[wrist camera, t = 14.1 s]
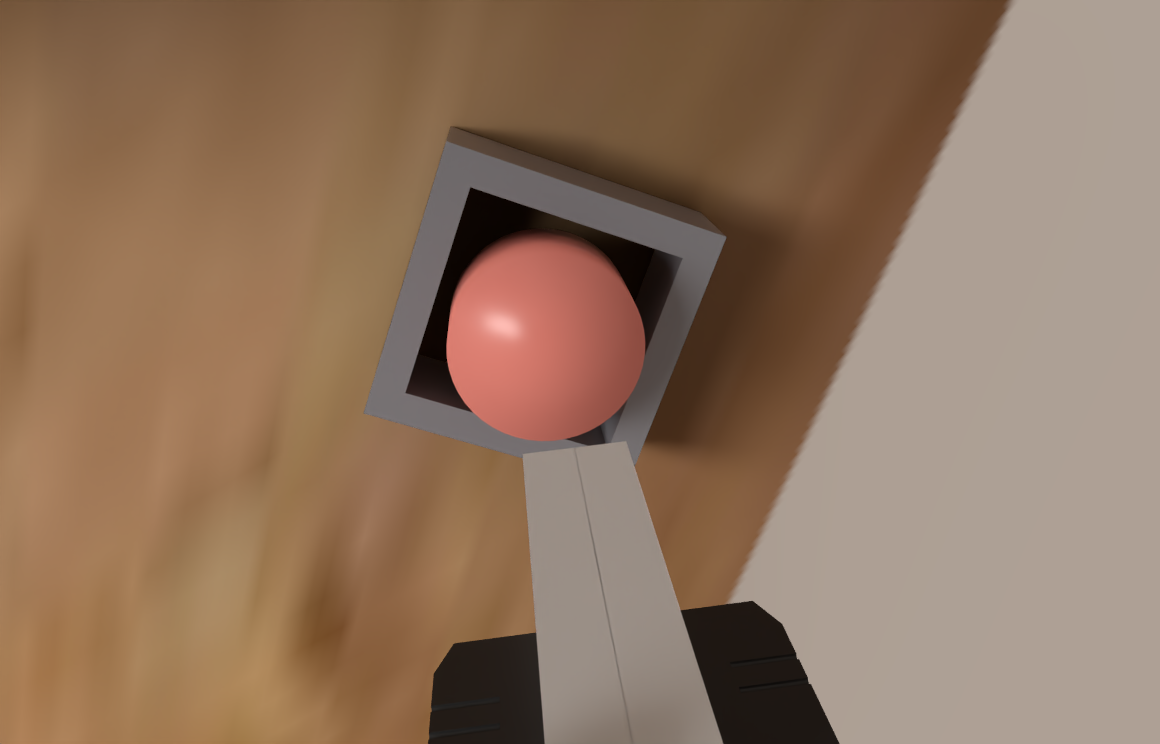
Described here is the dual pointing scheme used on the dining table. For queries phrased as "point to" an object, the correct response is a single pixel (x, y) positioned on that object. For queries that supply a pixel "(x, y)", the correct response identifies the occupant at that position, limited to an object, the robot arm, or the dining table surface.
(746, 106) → the dining table surface
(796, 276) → the dining table surface
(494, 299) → the button
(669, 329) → the button housing
